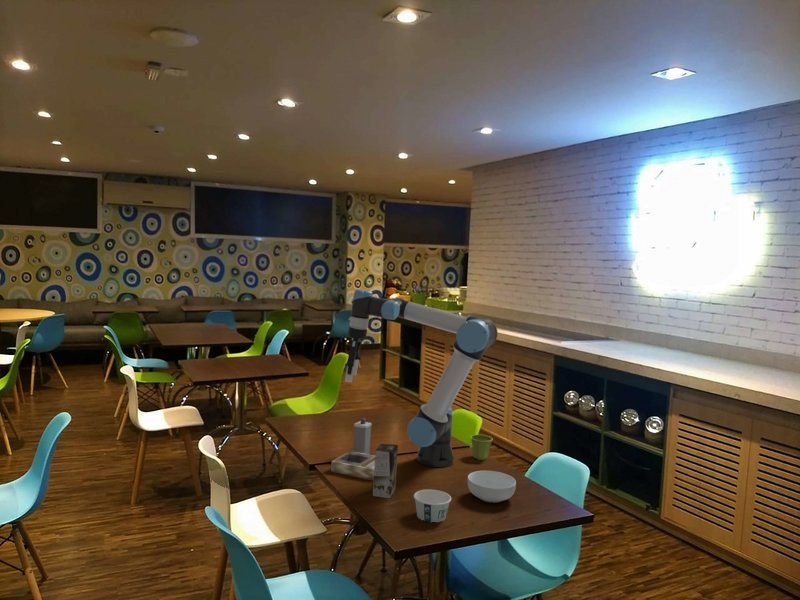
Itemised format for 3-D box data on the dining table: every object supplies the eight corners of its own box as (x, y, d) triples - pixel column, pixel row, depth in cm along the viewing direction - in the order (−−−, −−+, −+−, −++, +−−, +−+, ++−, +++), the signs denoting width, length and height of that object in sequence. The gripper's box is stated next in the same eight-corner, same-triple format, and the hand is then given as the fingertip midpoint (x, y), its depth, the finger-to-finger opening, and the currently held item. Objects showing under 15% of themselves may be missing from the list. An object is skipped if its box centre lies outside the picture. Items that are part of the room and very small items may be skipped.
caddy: (390, 468, 232) (391, 458, 232) (374, 480, 218) (374, 470, 218) (349, 460, 239) (349, 450, 239) (331, 471, 225) (331, 461, 225)
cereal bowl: (458, 491, 213) (459, 472, 213) (498, 487, 219) (499, 468, 219) (481, 510, 197) (483, 489, 197) (524, 505, 203) (525, 485, 203)
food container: (420, 506, 198) (421, 486, 198) (454, 513, 193) (456, 493, 193) (406, 519, 187) (408, 498, 187) (443, 527, 182) (444, 506, 182)
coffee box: (390, 498, 202) (393, 452, 201) (372, 496, 204) (374, 450, 203) (396, 489, 211) (398, 444, 210) (378, 487, 213) (381, 442, 212)
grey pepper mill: (369, 456, 246) (372, 418, 245) (364, 460, 241) (366, 421, 240) (358, 454, 248) (360, 416, 247) (352, 457, 243) (354, 419, 242)
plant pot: (492, 462, 248) (494, 441, 247) (470, 460, 248) (471, 440, 248) (489, 455, 257) (491, 435, 257) (468, 453, 257) (469, 433, 257)
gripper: (353, 322, 254) (346, 370, 257) (344, 330, 230) (336, 383, 232) (370, 325, 254) (363, 373, 256) (363, 333, 229) (355, 386, 231)
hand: (350, 378), depth 244 cm, fingers open, 13 cm apart
